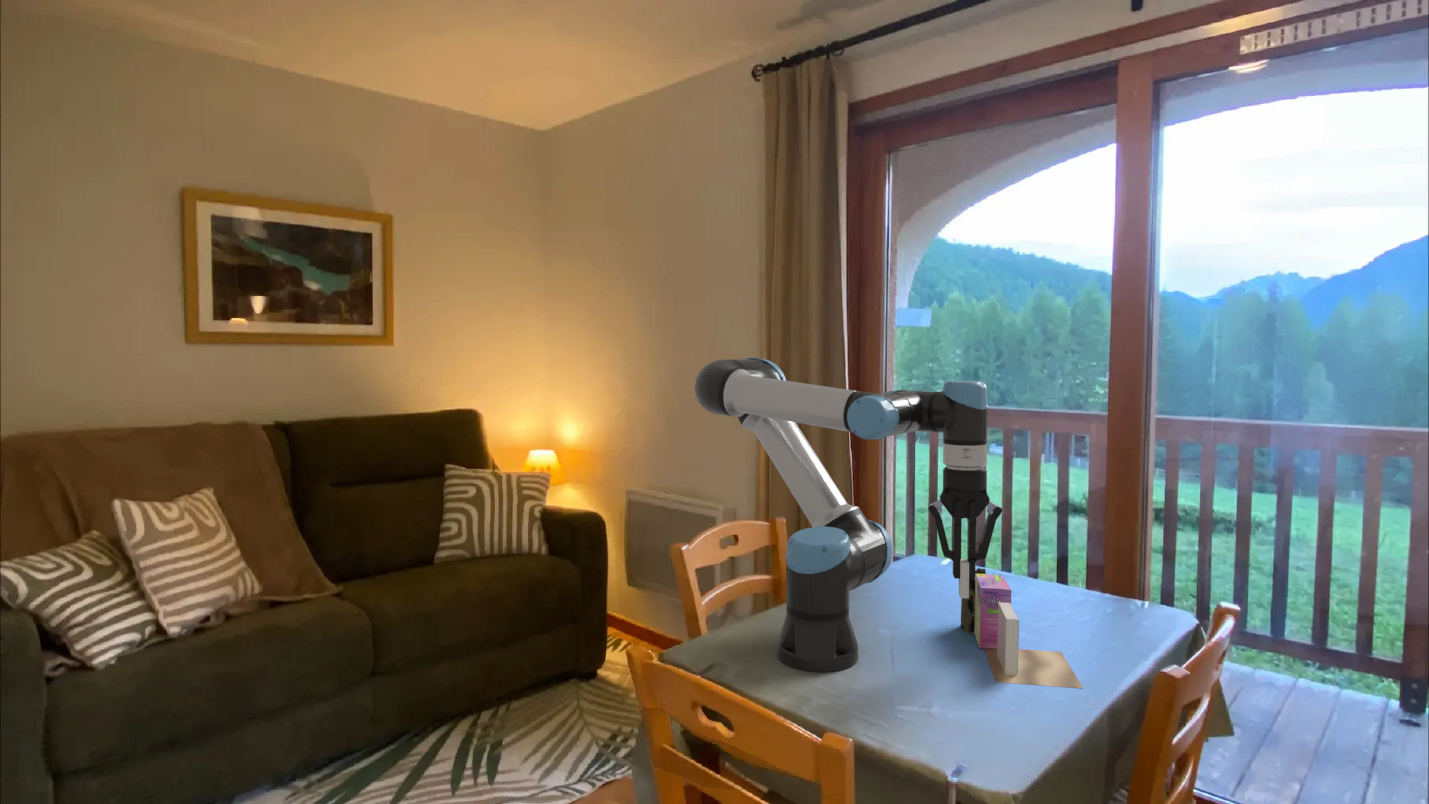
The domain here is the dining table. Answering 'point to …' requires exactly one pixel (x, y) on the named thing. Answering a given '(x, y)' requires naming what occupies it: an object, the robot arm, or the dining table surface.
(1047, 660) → the mat
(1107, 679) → the dining table surface
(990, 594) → the box
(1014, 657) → the tile
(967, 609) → the mug
